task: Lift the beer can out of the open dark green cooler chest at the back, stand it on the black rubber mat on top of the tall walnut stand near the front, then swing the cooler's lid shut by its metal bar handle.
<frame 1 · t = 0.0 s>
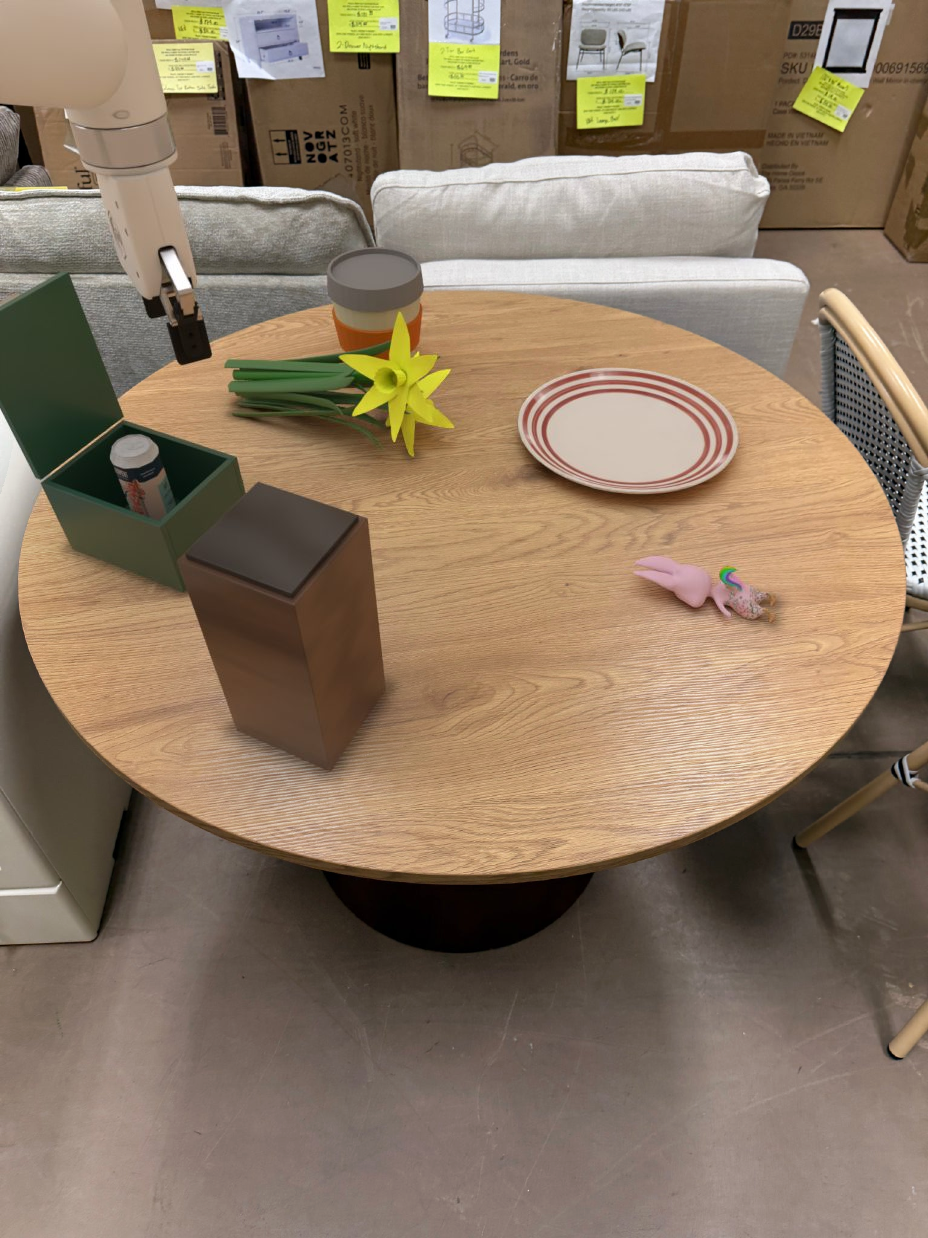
hand: (179, 336, 78), 22 cm above the table, tool pointing down, fingers open, 9 cm apart
dinner plate: (622, 444, 105), on the table
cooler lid: (35, 373, 81), point 18 cm above the table, hinge at 92.0°
cooler: (165, 538, 92), on the table
beer can: (163, 535, 91), point 1 cm above the table, touching cooler
stand: (313, 712, 76), on the table
daffodil flowers: (334, 437, 105), on the table
rabbit figure: (699, 602, 86), on the table
reusable coffee cup: (382, 373, 115), on the table
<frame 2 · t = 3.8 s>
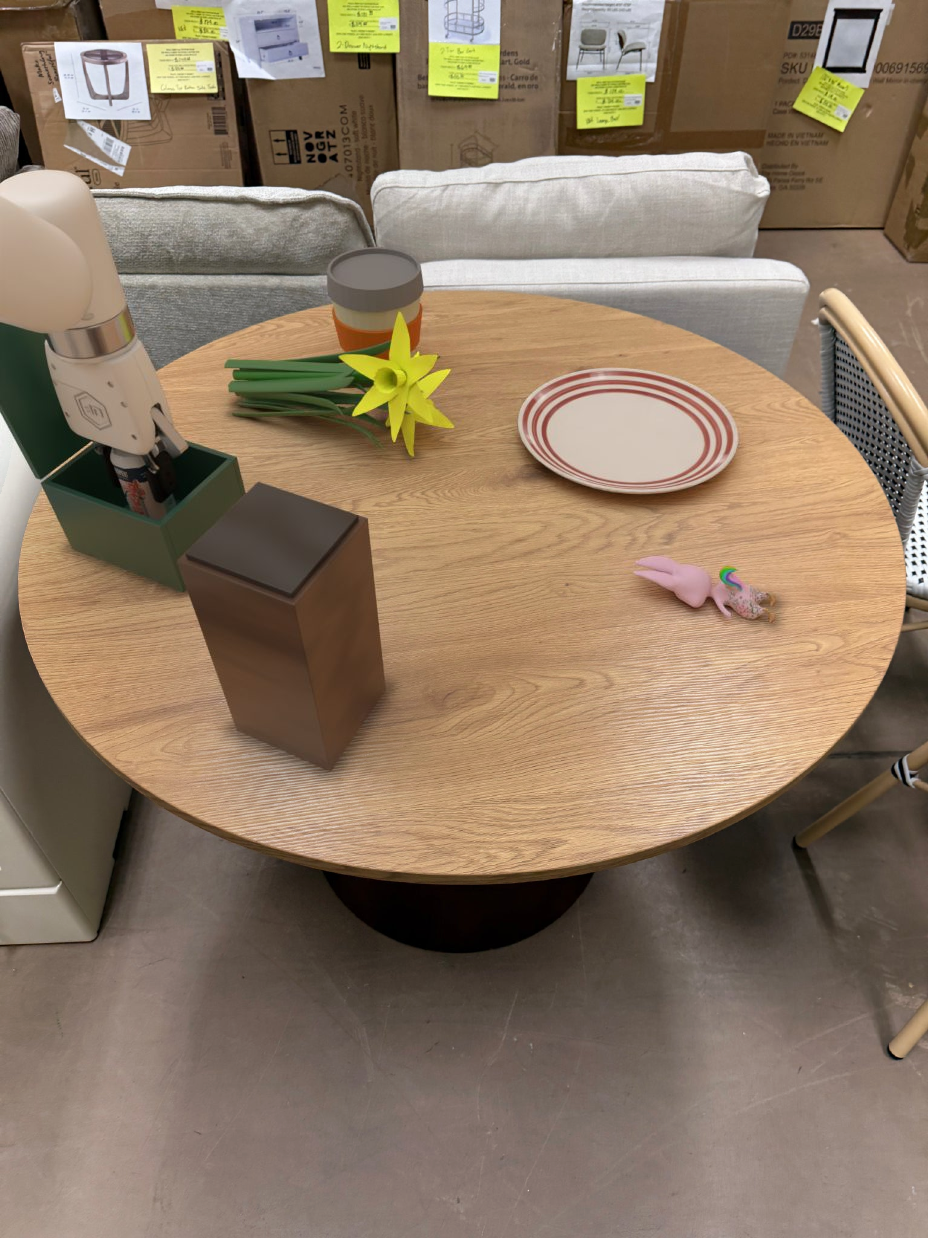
hand: (146, 486, 86), 8 cm above the table, tool pointing down, fingers closed on beer can, 4 cm apart
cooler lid: (33, 373, 81), point 18 cm above the table, hinge at 94.2°
beer can: (163, 535, 91), point 1 cm above the table, touching cooler, gripper
everything else where it was.
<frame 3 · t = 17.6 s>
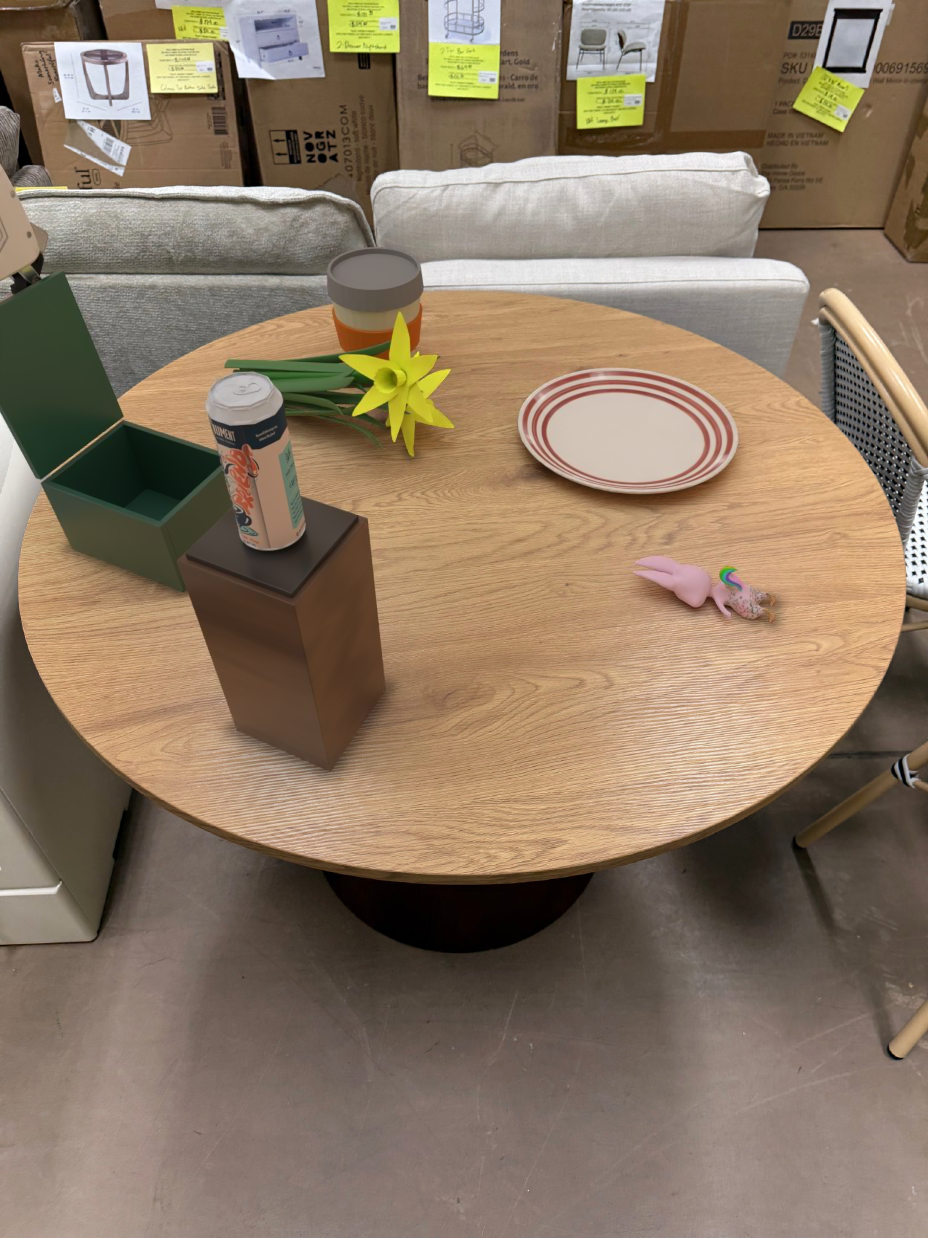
hand: (13, 340, 79), 21 cm above the table, tool pointing down, fingers closed on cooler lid, 6 cm apart
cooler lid: (33, 373, 81), point 18 cm above the table, hinge at 94.2°, touching gripper
beer can: (274, 535, 59), point 22 cm above the table, touching stand
everything else where it was.
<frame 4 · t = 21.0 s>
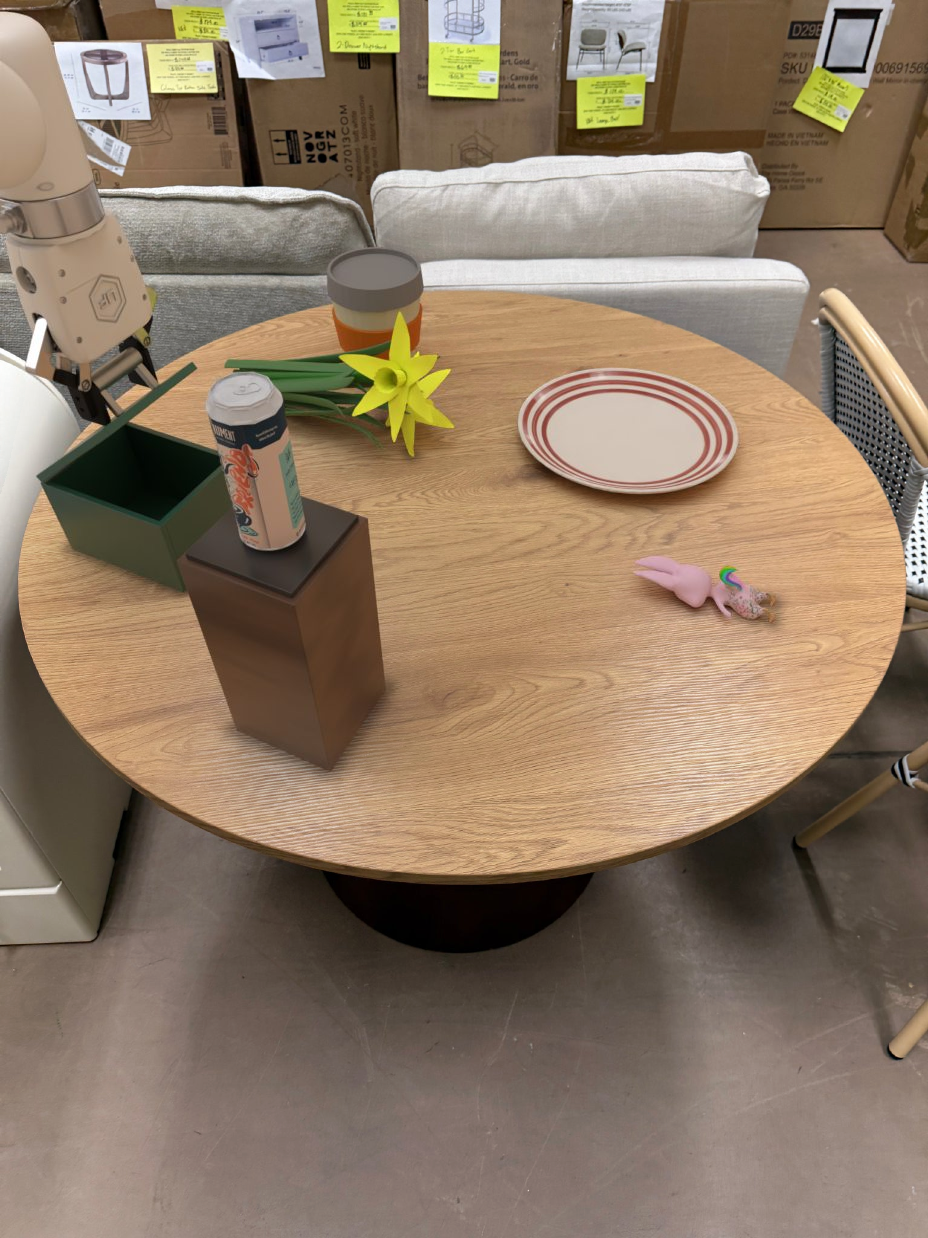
hand: (121, 400, 78), 18 cm above the table, tool pointing down, fingers closed on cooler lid, 6 cm apart
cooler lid: (99, 405, 80), point 17 cm above the table, hinge at 37.0°, touching gripper
everything else where it was.
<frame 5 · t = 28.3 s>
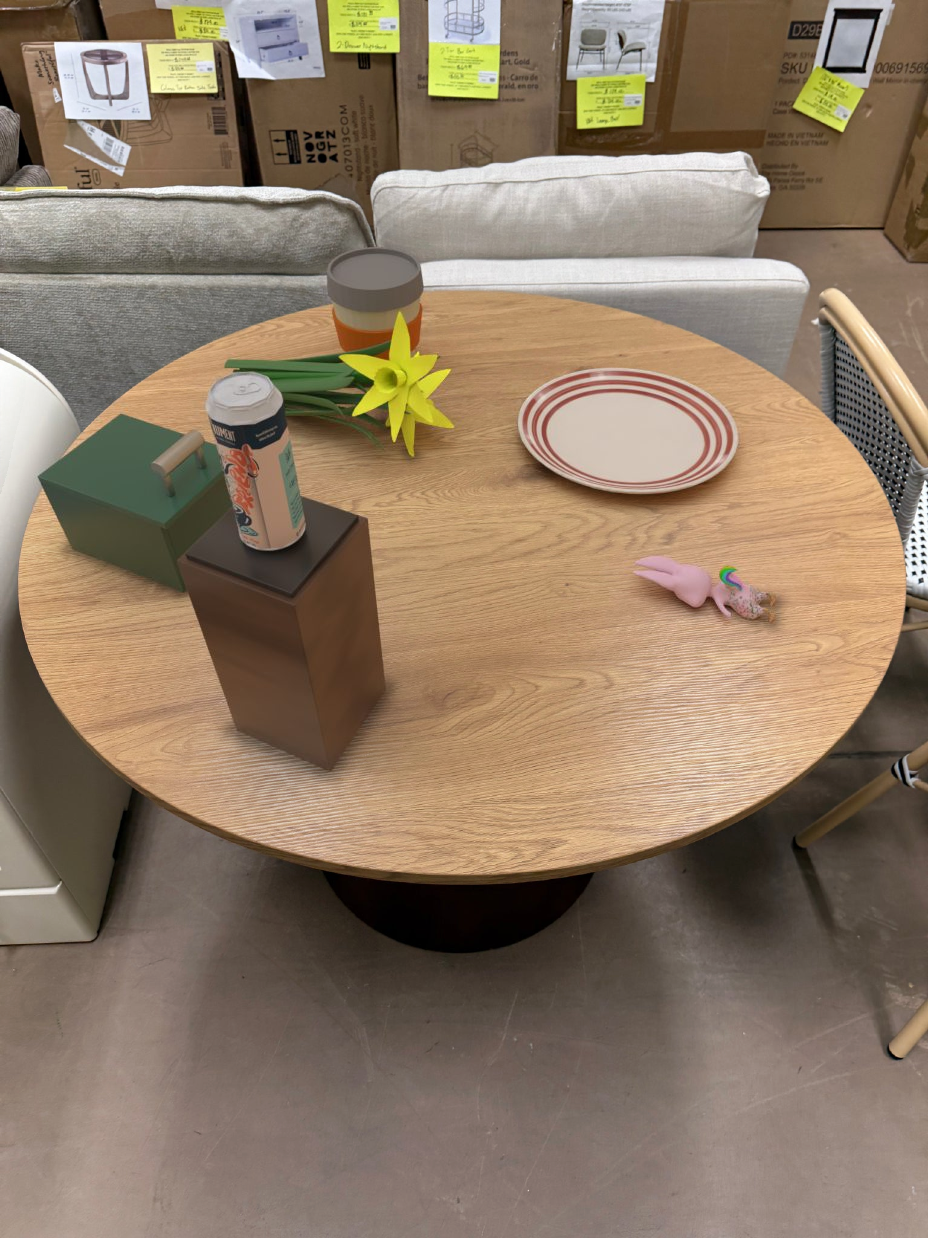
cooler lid: (136, 450, 82), point 12 cm above the table, hinge at -0.2°, touching cooler
everything else where it was.
at the end: beer can inside the target area on the stand (0.0 cm from its centre), point 22.3 cm above the stand's base; beer can tilted 0°; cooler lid at +0° (first picture: +92°) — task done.
